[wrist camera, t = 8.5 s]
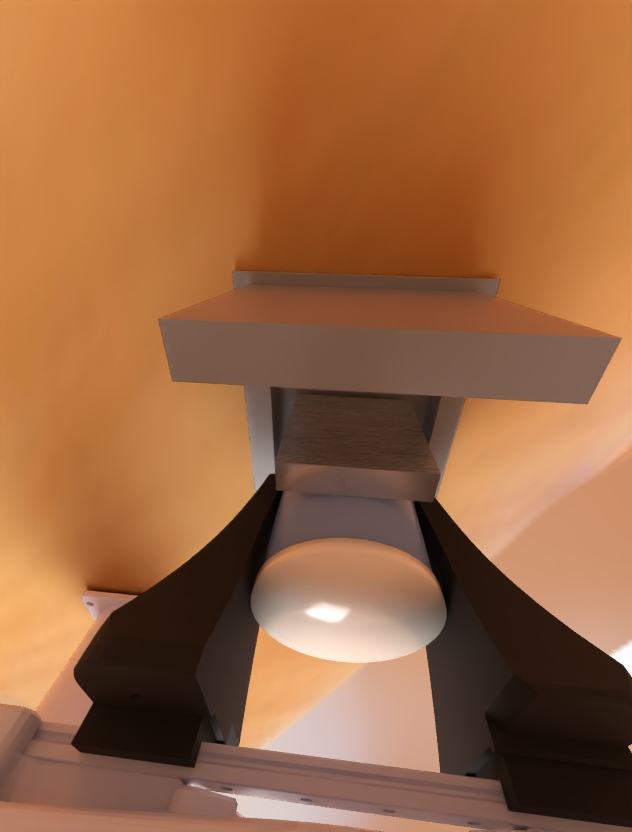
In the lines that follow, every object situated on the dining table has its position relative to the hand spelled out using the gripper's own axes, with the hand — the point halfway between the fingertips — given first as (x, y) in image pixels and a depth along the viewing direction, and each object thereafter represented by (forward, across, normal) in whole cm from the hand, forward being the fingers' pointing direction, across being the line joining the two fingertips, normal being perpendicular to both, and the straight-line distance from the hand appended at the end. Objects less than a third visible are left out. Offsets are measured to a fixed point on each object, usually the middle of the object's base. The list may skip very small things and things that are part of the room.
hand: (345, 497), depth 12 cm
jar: (+2, 0, 0) cm, 2 cm away
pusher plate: (+2, 0, -3) cm, 4 cm away
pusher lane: (+2, 0, 0) cm, 2 cm away
